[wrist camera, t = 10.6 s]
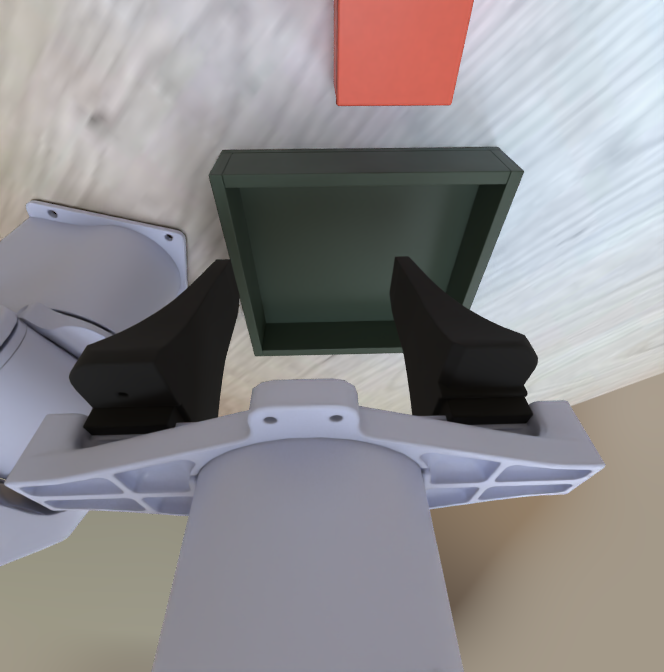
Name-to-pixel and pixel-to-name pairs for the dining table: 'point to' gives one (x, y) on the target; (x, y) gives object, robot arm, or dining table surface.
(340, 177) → the tote
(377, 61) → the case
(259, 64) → the dining table surface
